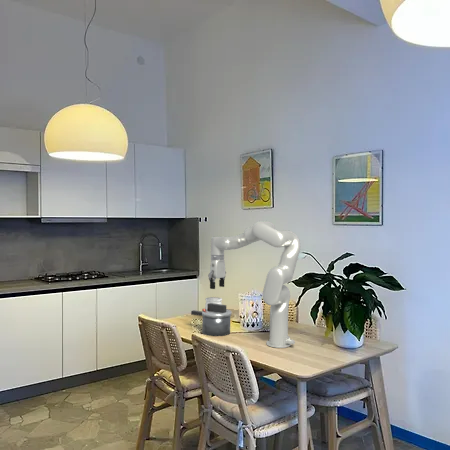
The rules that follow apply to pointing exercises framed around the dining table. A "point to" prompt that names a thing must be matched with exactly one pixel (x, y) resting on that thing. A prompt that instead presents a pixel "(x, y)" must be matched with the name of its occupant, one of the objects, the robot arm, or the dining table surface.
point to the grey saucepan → (214, 324)
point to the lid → (216, 310)
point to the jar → (213, 301)
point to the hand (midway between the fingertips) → (217, 287)
